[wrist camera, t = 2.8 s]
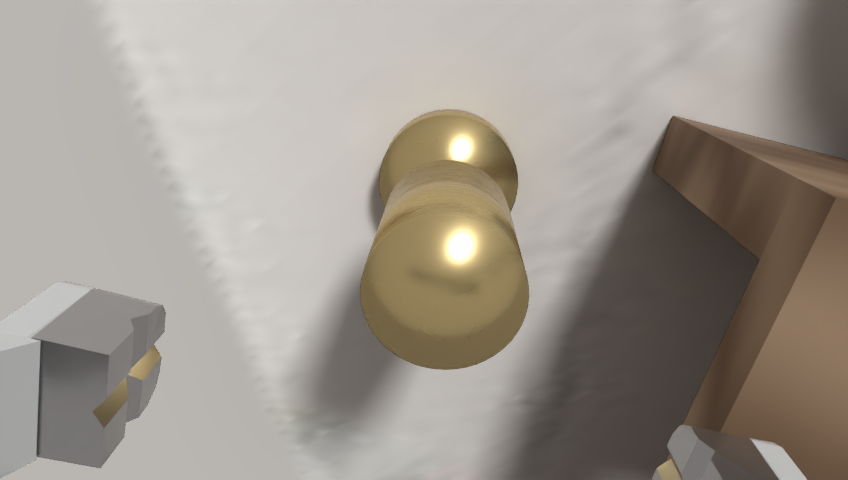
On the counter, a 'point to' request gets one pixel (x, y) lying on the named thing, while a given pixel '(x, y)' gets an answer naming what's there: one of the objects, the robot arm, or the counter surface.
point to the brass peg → (446, 245)
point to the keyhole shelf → (774, 290)
